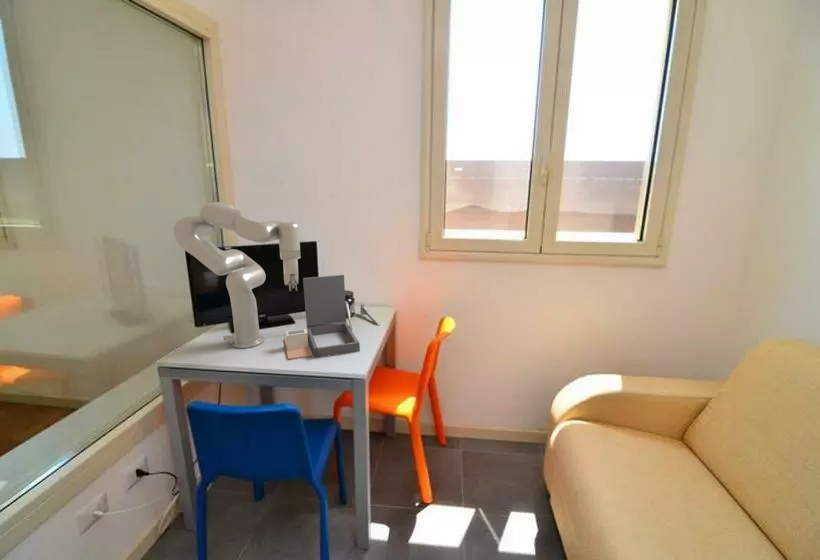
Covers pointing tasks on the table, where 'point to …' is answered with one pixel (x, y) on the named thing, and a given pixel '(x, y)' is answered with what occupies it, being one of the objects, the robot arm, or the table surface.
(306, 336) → the module
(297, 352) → the rubber mat
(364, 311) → the caliper
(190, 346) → the table surface
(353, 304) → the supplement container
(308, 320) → the equipment case
